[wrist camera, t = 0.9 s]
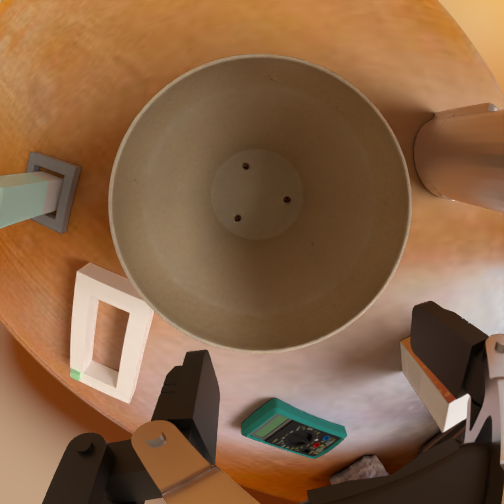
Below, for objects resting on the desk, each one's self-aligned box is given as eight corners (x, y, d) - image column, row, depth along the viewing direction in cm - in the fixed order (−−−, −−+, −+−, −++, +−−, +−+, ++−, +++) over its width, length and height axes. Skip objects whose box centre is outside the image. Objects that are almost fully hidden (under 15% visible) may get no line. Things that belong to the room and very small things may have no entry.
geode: (397, 472, 45) (404, 504, 35) (352, 487, 47) (356, 520, 38) (380, 447, 39) (390, 490, 29) (323, 466, 42) (326, 509, 32)
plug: (43, 171, 25) (-18, 178, 15) (64, 179, 25) (3, 188, 16) (37, 200, 26) (-22, 216, 16) (57, 210, 26) (-2, 229, 17)
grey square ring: (36, 151, 24) (30, 151, 23) (81, 166, 25) (75, 167, 24) (24, 211, 26) (18, 213, 25) (66, 231, 27) (61, 233, 26)
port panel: (89, 262, 28) (74, 273, 25) (159, 291, 29) (150, 306, 26) (79, 363, 32) (68, 378, 28) (135, 389, 33) (128, 406, 30)
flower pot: (308, 79, 24) (350, 26, 12) (365, 246, 29) (430, 291, 17) (135, 146, 25) (68, 135, 13) (206, 307, 30) (188, 383, 18)
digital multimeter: (313, 449, 39) (316, 462, 36) (238, 422, 36) (238, 437, 33) (346, 425, 37) (352, 438, 34) (272, 393, 34) (274, 409, 31)
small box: (445, 314, 32) (503, 365, 19) (445, 348, 33) (492, 399, 21) (398, 340, 32) (448, 404, 20) (400, 372, 34) (442, 434, 21)
